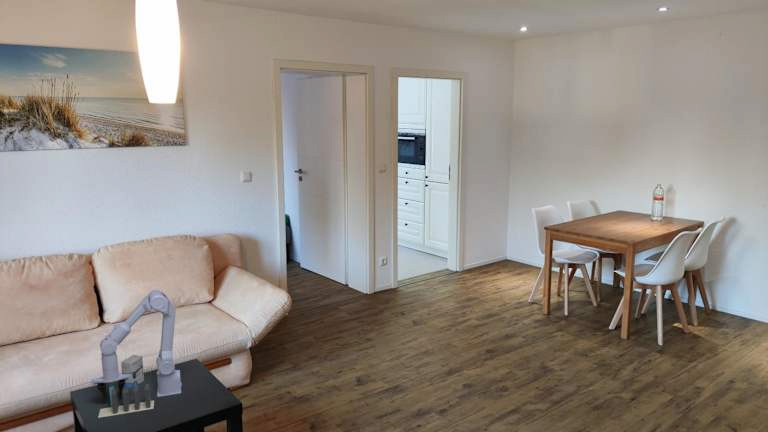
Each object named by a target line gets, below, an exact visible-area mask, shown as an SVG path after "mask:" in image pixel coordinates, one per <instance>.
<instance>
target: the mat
mask: <svg viewBox="0 0 768 432" xmlns="http://www.w3.org/2000/svg"><path fill="white" fill-rule="evenodd" d="M129 404H130V403H129ZM154 406H155V400H151V407H150V408H146V401H143V402H141V401H140V410H135V403H131V404H130V407H129V411H128V412H124V404H123V405H119V409H118V413H116V414H113V408H112V406H110V407H105V408H100V409H99V413H98V417H97V418H98V419H100V418H104V417H105V418H106V417H111V416H118V415H125V414H129V413H134V412H135V413H136V412H141V411H146V410H147V411H148V410H153V409H154Z"/></svg>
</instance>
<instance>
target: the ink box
mask: <svg viewBox="0 0 768 432" xmlns="http://www.w3.org/2000/svg"><path fill="white" fill-rule="evenodd" d="M120 364H121V374H131V380H126V381H125V385H124V387H123V388H125V387H128V389H131V390H132V389H133V390H134V386H138V385H140V384H141V383H143V382H144V381H145V376H144V374H145V373H144V372H145V371H144V361H143V355H138V354H137V355H136V354H132V355H130V356H129V357H126V359H124V360H122V361H121V362H120Z"/></svg>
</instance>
